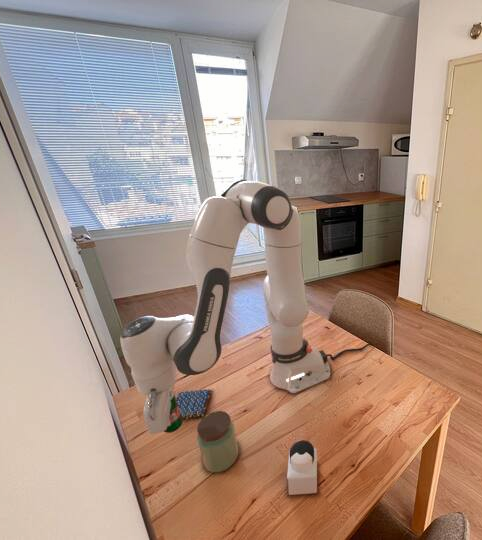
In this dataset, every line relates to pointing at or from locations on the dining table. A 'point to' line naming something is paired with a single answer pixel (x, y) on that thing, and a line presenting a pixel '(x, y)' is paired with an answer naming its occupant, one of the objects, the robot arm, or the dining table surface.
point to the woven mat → (193, 402)
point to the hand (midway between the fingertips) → (169, 414)
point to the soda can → (174, 415)
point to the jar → (217, 441)
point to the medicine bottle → (302, 468)
